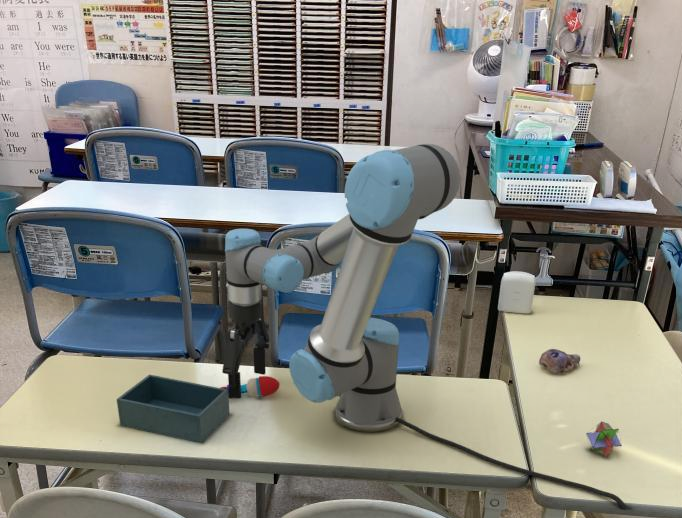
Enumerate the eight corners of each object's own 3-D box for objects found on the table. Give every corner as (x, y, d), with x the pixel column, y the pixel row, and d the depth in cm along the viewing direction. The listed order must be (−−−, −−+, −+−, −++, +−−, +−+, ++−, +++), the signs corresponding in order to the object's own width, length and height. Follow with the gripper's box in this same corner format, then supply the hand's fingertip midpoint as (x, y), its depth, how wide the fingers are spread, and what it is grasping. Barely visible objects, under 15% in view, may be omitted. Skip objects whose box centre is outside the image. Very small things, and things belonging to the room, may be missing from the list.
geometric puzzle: (629, 454, 162) (625, 417, 162) (600, 457, 160) (595, 420, 161) (612, 458, 169) (607, 422, 169) (583, 460, 168) (579, 424, 168)
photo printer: (496, 311, 236) (502, 272, 229) (497, 306, 239) (503, 268, 233) (530, 315, 234) (537, 276, 227) (531, 310, 238) (537, 271, 231)
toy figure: (218, 408, 182) (280, 399, 181) (213, 389, 179) (276, 379, 179) (221, 396, 188) (281, 387, 188) (217, 377, 186) (278, 368, 185)
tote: (229, 415, 176) (228, 389, 172) (201, 443, 165) (199, 416, 162) (152, 399, 181) (149, 374, 178) (120, 425, 171) (116, 399, 167)
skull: (572, 358, 207) (577, 338, 203) (587, 373, 201) (592, 354, 197) (532, 364, 204) (536, 345, 200) (546, 380, 198) (551, 360, 194)
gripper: (253, 280, 183) (255, 361, 194) (203, 317, 163) (209, 404, 174) (282, 285, 181) (283, 366, 192) (235, 322, 161) (239, 411, 172)
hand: (247, 385), depth 183 cm, fingers open, 13 cm apart
